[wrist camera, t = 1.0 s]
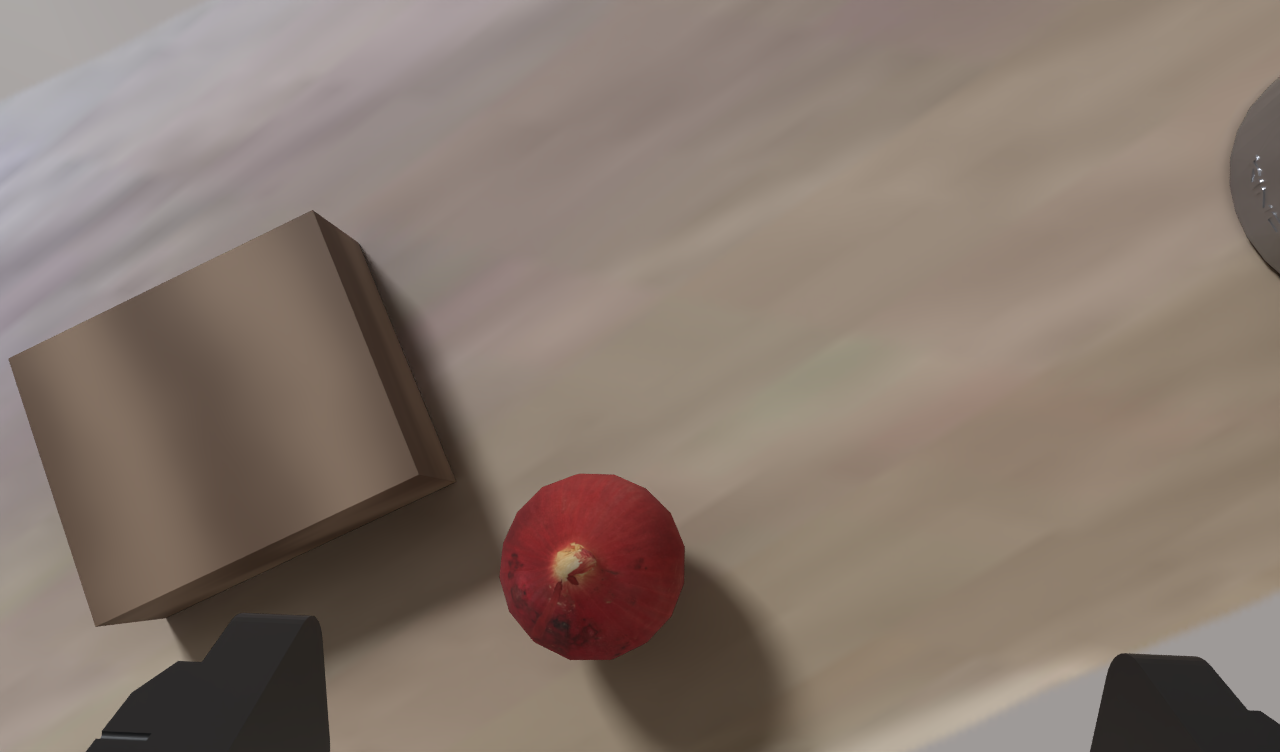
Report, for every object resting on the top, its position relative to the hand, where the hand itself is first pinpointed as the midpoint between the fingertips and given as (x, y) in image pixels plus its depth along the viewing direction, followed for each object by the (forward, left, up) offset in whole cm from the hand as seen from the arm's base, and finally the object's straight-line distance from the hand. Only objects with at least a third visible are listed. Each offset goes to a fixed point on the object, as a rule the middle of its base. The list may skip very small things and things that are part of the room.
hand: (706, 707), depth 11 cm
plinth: (+14, -13, -26) cm, 32 cm away
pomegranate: (+4, -3, -26) cm, 26 cm away
